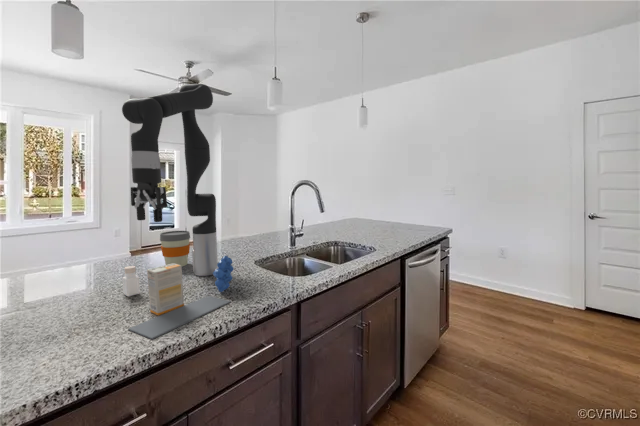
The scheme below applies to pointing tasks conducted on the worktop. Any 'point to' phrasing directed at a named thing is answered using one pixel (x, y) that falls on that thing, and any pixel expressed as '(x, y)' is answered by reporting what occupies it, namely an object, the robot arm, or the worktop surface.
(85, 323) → the worktop surface
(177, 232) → the reusable coffee cup
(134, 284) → the pepper shaker
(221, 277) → the grapes
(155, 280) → the supplement box
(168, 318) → the rubber mat
